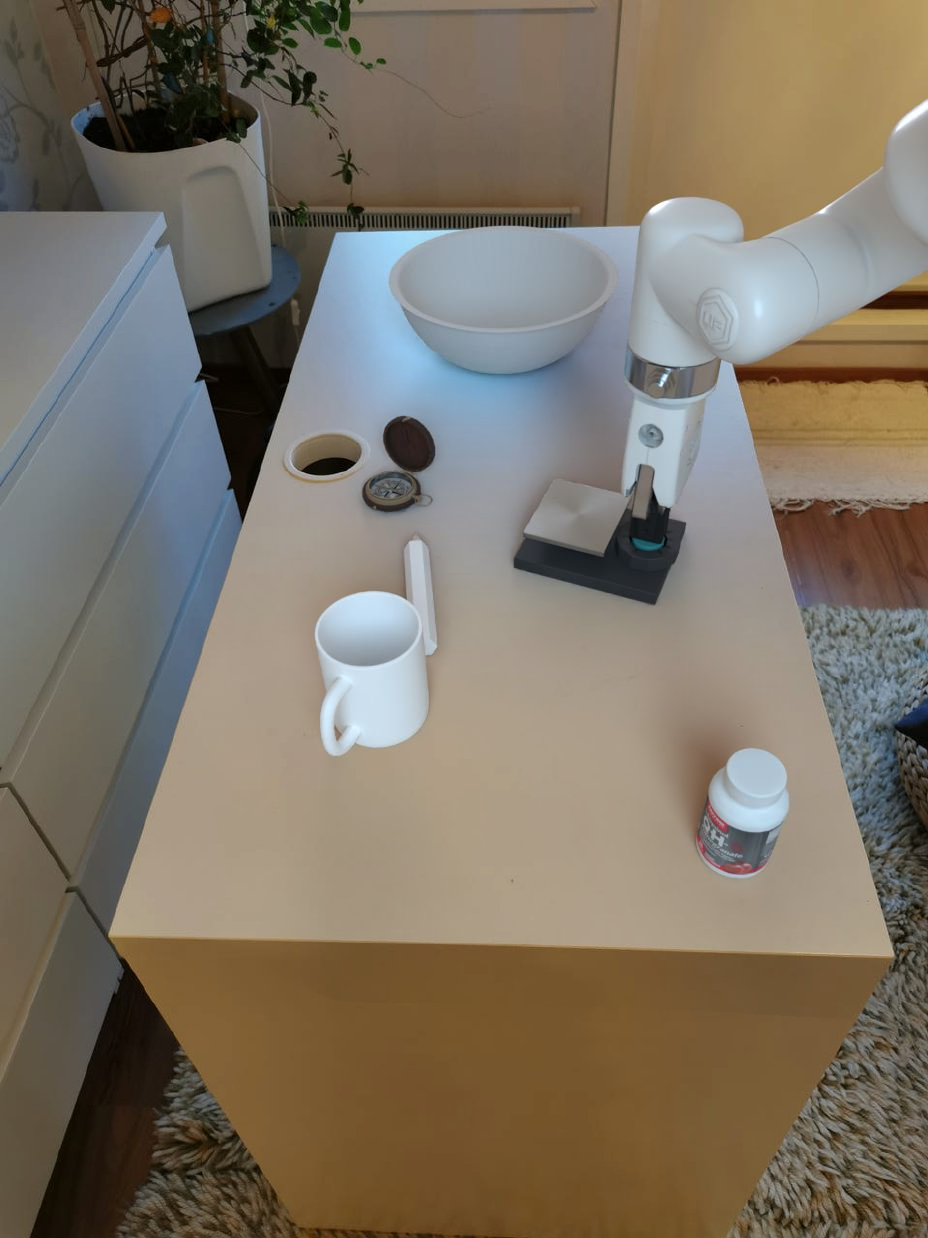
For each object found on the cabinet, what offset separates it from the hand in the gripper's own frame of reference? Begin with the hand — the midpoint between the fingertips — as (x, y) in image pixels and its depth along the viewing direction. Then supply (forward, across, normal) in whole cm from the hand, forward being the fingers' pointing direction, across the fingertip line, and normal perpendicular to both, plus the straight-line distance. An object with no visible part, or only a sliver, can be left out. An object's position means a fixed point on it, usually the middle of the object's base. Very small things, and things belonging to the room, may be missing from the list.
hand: (647, 535), depth 90 cm
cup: (+3, -28, +15) cm, 32 cm away
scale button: (+2, 0, 0) cm, 2 cm away
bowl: (+4, +32, +27) cm, 42 cm away
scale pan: (0, 0, +7) cm, 7 cm away
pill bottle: (+3, -28, -15) cm, 32 cm away
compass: (+4, +1, +26) cm, 27 cm away
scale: (+3, 0, +4) cm, 5 cm away
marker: (+4, -12, +18) cm, 22 cm away
